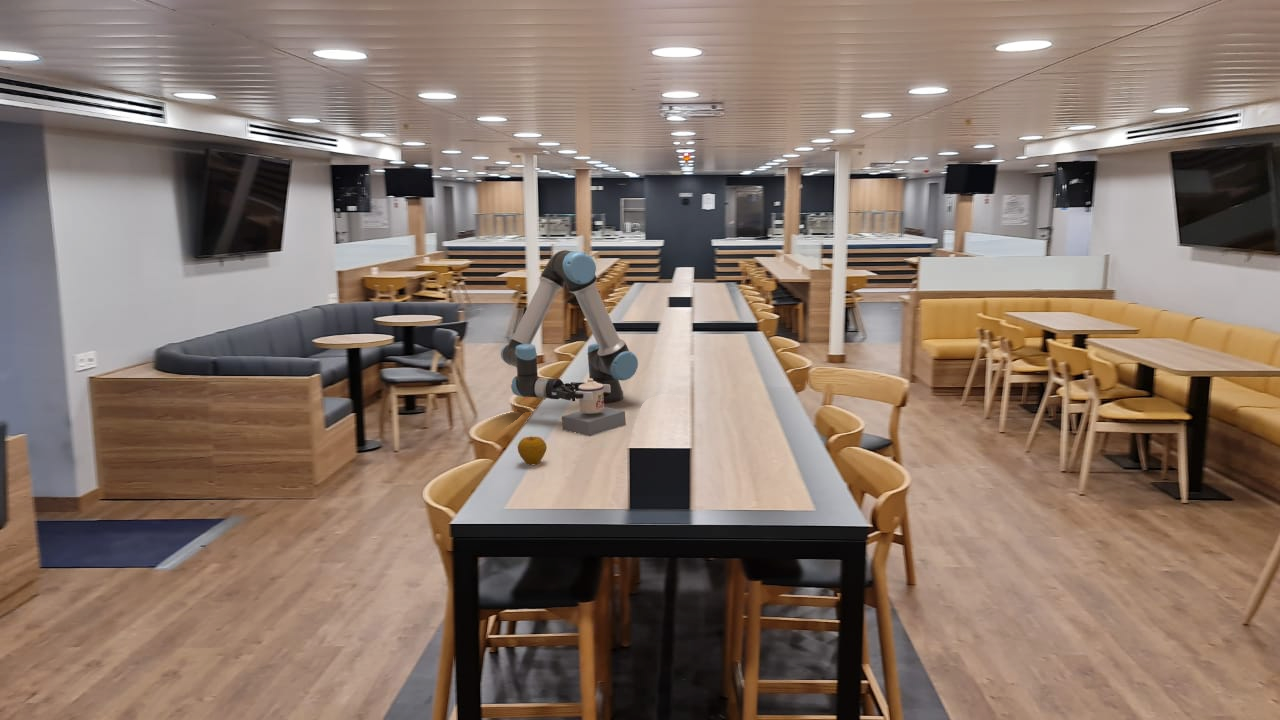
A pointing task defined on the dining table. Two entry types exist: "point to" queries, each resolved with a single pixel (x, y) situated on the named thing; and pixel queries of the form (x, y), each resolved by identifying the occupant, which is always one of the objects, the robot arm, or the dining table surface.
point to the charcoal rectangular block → (593, 421)
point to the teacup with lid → (598, 398)
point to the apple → (532, 449)
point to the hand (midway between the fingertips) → (601, 392)
